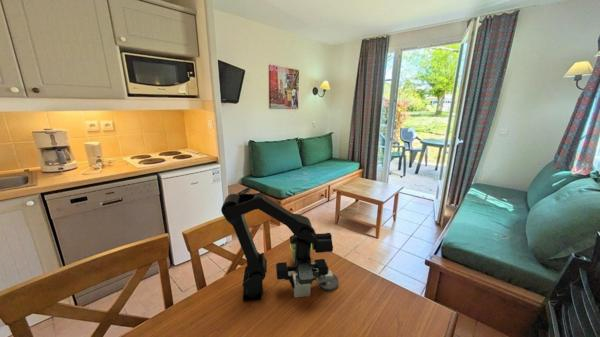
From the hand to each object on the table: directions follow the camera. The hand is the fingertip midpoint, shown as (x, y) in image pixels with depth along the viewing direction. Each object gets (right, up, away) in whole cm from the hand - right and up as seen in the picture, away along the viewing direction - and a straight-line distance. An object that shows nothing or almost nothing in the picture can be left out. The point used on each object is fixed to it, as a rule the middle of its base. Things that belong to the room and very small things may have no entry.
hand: (301, 287), depth 89 cm
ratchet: (+10, +1, +8) cm, 13 cm away
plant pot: (0, +3, +16) cm, 16 cm away
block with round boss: (0, -1, 0) cm, 2 cm away
